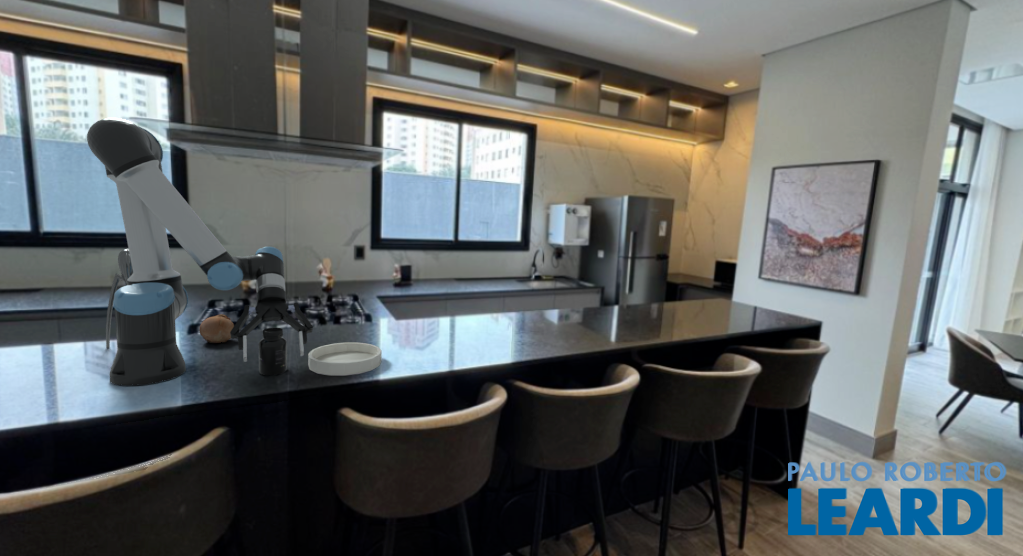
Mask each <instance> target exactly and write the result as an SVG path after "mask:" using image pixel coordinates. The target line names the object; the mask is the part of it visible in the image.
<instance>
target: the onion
mask: <svg viewBox="0 0 1023 556" xmlns="http://www.w3.org/2000/svg"><path fill="white" fill-rule="evenodd" d="M234 326H235V324H234V323H233V321H232V318H230V317H229V316H227V315H226V314H222V313H220V314H217V315H213V316H209V317H207V318H205V319H204V320H203V321H201V323H200V325H199V335H200V336H201V337H202V339H204V340H205V341H206V343H210V344H222V343H226V342H227V341H229V340H231V339H232V338H231V336H230V332H231V330H232V329H233V327H234ZM221 342H222V343H221Z"/></svg>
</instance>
